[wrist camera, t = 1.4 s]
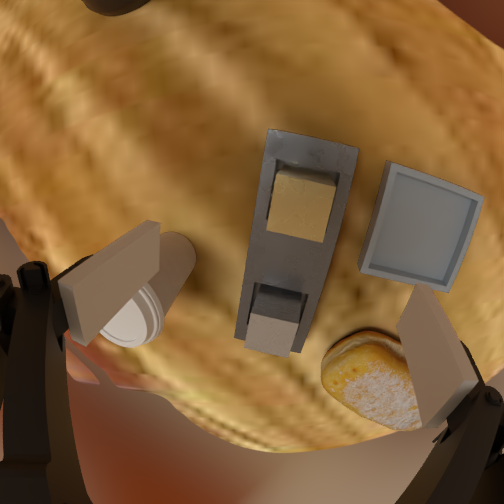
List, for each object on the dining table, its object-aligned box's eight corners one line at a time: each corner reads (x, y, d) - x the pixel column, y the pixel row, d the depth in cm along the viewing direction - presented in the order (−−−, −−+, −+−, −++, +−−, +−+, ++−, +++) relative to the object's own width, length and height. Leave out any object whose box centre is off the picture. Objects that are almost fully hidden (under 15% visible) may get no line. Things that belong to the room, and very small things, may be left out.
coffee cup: (207, 225, 36) (148, 283, 23) (207, 290, 40) (160, 364, 27) (142, 217, 38) (68, 264, 24) (147, 278, 42) (88, 338, 28)
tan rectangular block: (285, 163, 31) (276, 174, 23) (330, 173, 30) (336, 187, 23) (277, 206, 33) (266, 230, 25) (320, 216, 32) (322, 242, 25)
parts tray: (386, 160, 29) (391, 162, 27) (475, 192, 27) (484, 197, 25) (357, 263, 34) (359, 272, 32) (442, 283, 33) (448, 293, 31)
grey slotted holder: (273, 129, 30) (268, 128, 27) (353, 146, 29) (359, 148, 26) (240, 320, 41) (234, 337, 38) (302, 334, 40) (300, 353, 37)
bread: (365, 307, 37) (373, 345, 30) (457, 377, 39) (469, 409, 31) (303, 362, 43) (299, 401, 35) (403, 416, 44) (408, 448, 37)
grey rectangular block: (263, 276, 36) (250, 312, 29) (302, 285, 36) (298, 324, 29) (257, 308, 39) (244, 347, 31) (293, 316, 38) (287, 357, 31)
